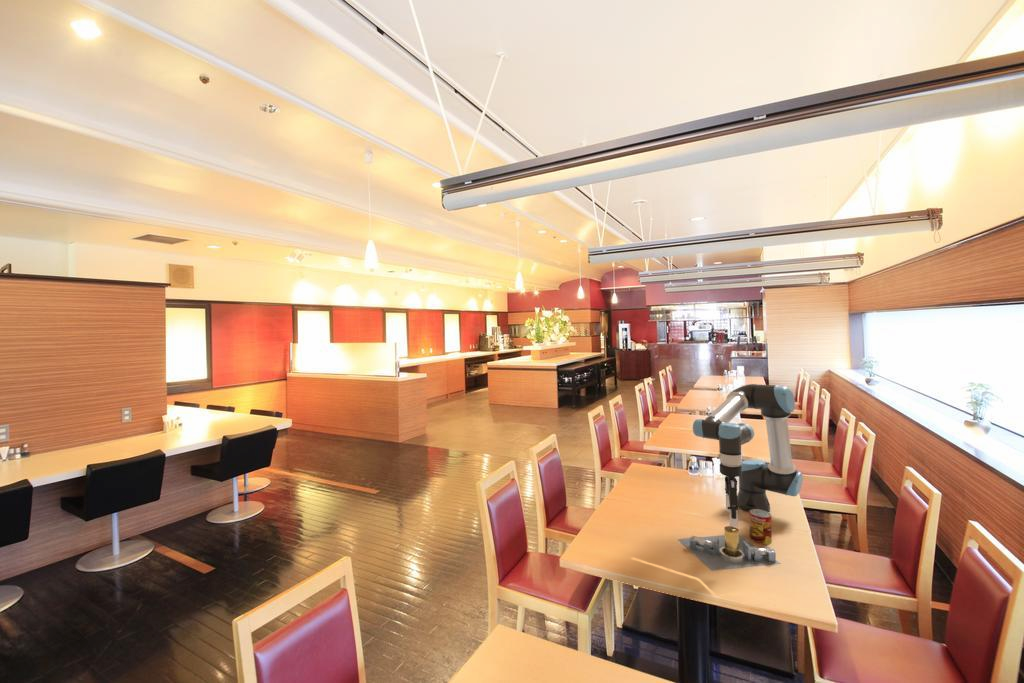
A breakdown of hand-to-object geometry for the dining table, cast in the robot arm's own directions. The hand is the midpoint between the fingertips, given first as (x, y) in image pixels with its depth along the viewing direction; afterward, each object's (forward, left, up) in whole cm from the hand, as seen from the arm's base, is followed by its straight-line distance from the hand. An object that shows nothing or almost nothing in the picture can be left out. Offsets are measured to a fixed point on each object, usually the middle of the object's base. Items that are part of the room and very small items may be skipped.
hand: (731, 518), depth 160 cm
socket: (0, 0, -15) cm, 15 cm away
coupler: (0, 0, -15) cm, 15 cm away
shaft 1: (+7, -7, -15) cm, 18 cm away
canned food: (-21, -11, -16) cm, 28 cm away
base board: (-1, -5, -16) cm, 16 cm away
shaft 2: (-9, +3, -15) cm, 18 cm away
